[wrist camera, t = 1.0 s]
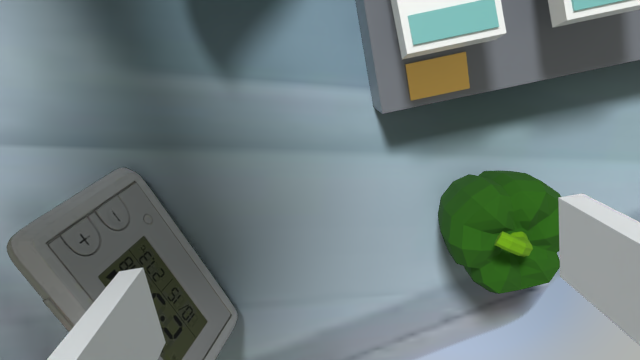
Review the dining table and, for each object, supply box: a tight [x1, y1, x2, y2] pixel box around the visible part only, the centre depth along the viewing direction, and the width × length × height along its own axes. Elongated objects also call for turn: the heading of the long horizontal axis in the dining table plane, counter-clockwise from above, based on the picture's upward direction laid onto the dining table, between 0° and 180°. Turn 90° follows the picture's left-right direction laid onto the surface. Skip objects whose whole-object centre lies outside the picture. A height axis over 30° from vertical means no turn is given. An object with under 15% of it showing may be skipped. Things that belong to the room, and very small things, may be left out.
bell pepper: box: [438, 171, 561, 294], centre depth 33 cm, size 8×8×10 cm
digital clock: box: [7, 167, 238, 360], centre depth 32 cm, size 16×9×11 cm, turn 18°
